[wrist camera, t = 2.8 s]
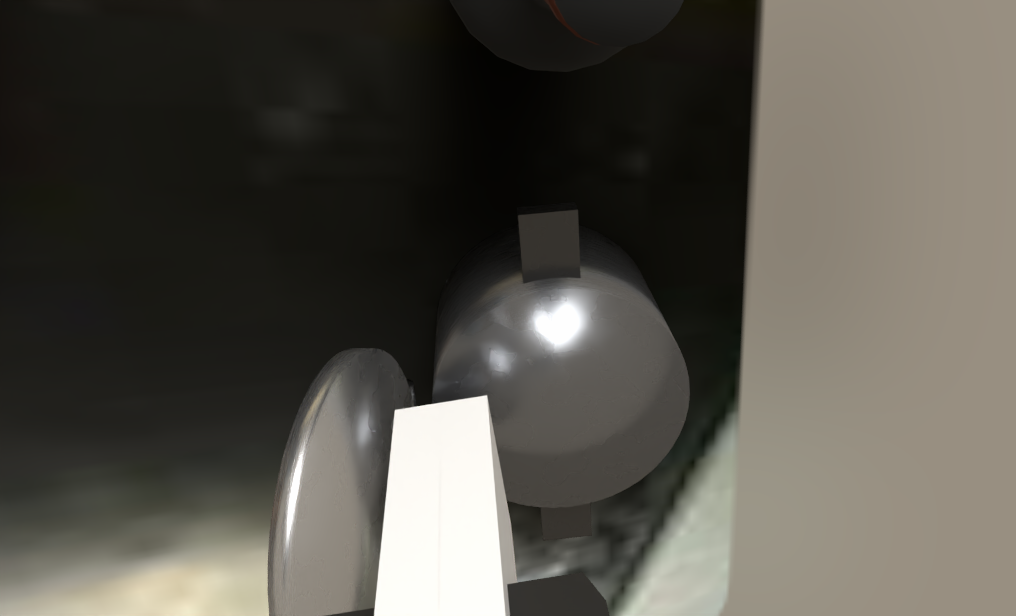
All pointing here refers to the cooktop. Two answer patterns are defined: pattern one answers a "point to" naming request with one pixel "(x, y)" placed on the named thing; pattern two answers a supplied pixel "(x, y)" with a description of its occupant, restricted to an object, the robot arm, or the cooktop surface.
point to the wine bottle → (563, 28)
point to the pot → (561, 363)
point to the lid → (335, 487)
